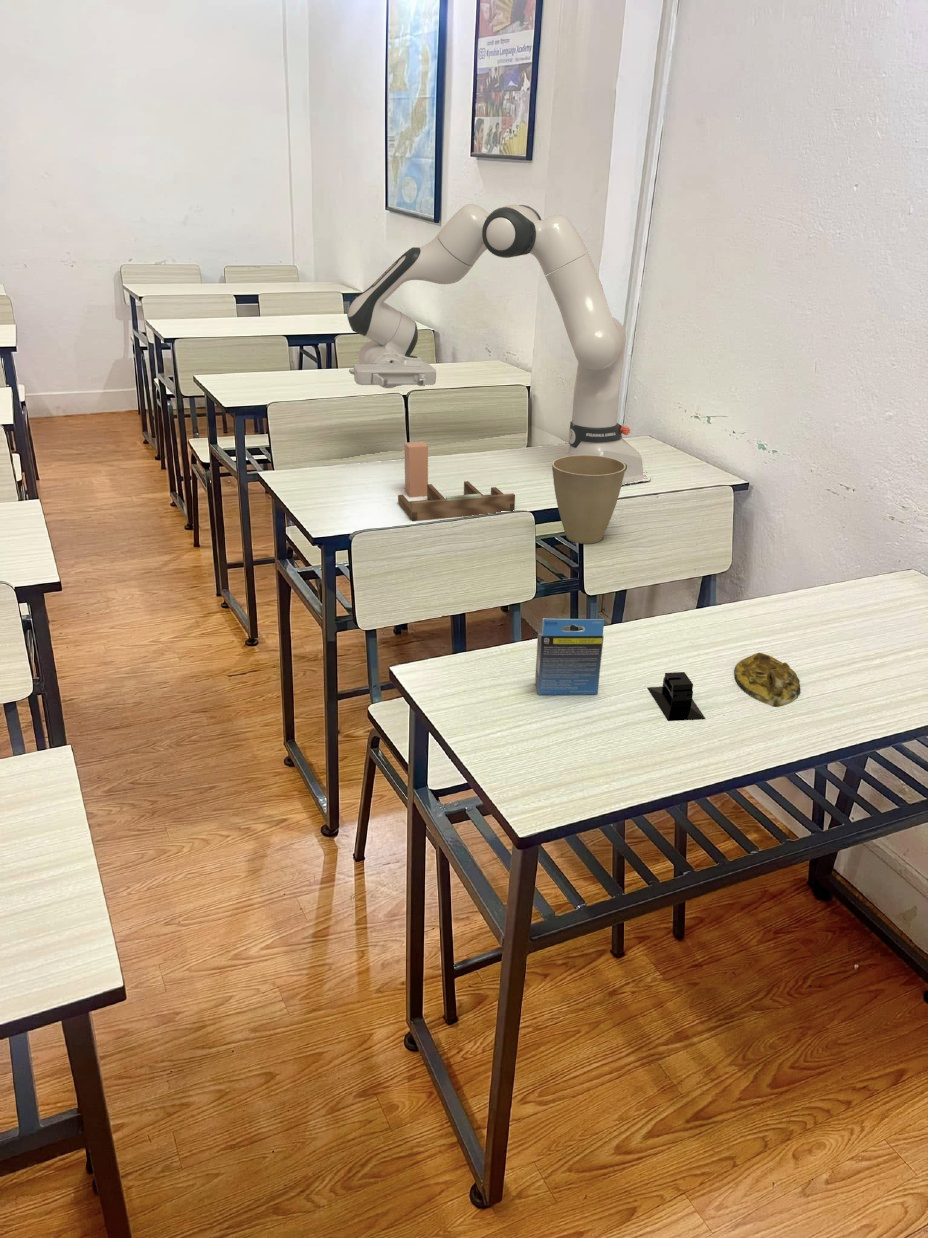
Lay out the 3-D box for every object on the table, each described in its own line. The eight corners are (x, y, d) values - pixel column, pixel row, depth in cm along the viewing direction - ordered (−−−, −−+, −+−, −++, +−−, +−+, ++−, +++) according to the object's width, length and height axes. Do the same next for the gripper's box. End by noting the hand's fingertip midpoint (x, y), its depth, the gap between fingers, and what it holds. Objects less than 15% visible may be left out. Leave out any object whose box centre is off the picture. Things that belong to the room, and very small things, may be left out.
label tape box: (593, 682, 133) (600, 607, 127) (598, 696, 129) (605, 619, 124) (534, 683, 132) (538, 607, 127) (537, 696, 129) (542, 619, 123)
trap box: (495, 495, 215) (496, 476, 213) (514, 511, 204) (515, 492, 202) (398, 503, 208) (397, 484, 206) (412, 521, 197) (411, 500, 195)
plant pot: (558, 522, 197) (562, 451, 190) (625, 531, 193) (632, 458, 186) (539, 544, 185) (543, 469, 178) (610, 554, 180) (617, 477, 173)
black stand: (638, 686, 133) (641, 658, 131) (685, 683, 134) (689, 656, 132) (665, 731, 122) (668, 702, 120) (716, 728, 123) (721, 699, 121)
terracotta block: (423, 490, 217) (422, 441, 212) (428, 495, 214) (427, 446, 208) (405, 491, 216) (404, 442, 211) (409, 497, 212) (409, 447, 207)
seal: (725, 664, 141) (745, 712, 128) (725, 637, 139) (746, 683, 126) (786, 661, 140) (813, 709, 127) (787, 634, 138) (814, 680, 125)
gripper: (347, 356, 220) (361, 369, 209) (426, 356, 227) (444, 369, 216) (346, 381, 223) (361, 396, 212) (424, 381, 230) (442, 395, 219)
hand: (403, 382), depth 214 cm, fingers open, 8 cm apart
